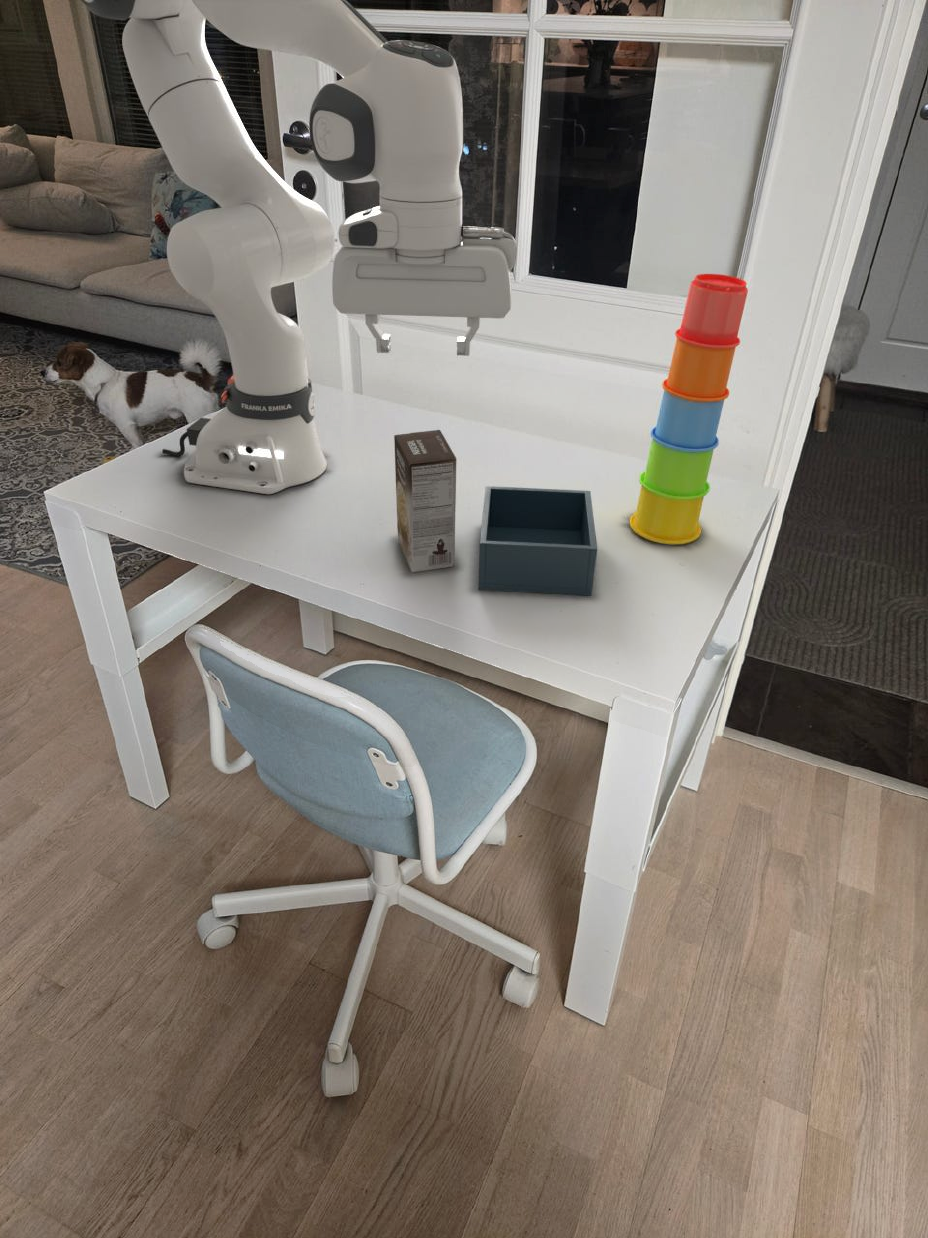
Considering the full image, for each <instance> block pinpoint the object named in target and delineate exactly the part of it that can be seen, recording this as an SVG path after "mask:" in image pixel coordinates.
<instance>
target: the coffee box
mask: <svg viewBox="0 0 928 1238" xmlns="http://www.w3.org/2000/svg"><path fill="white" fill-rule="evenodd" d="M393 437H394V438H393V439H394V440H393V441H394V468H395V471H394V472H395V496H396V497H395V498H396V525H397V527H396V528H397V541H398V543H399V544H400V548H401V550H402V553H403V555H404V559H405V560H406V562H407V566H408V567H409V568H408V569H409V570H410V572H411V573H418V572H424V571H432V570H438V569H444V568H451V567H452V568H453V567H455V554H456V553H455V551H456V550H455V549H456V547H455V546H456V507H457V505H456V504H457V502H456V501H457V499H456V498H457V457H456V455H455V453H454V452H453V450H452V449H451V448H452V447H450V444H449V443H448V441H447V440H446V438H445V436H444V434H443V433H442V431H441V429H435V430H426V431H417V432H410V433H401V434H394V435H393Z"/></svg>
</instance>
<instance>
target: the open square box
mask: <svg viewBox="0 0 928 1238" xmlns="http://www.w3.org/2000/svg"><path fill="white" fill-rule="evenodd" d="M482 506H483V509H482V515H481V516H482V517H481V527H480V536H479V537H480V539H479V552H478V553H479V556H478V581H477V582H478V585H477V587H478V588H477V589H478V590H479V591H497V592H499V591H500V592H518V593H536V594H555V595H556V594H557V595H575V596H578V595H579V596H592V593H593V586H594V579H595V578H594V577H595V570H596V562H597V556H598V541H597V536H596V535H597V534H596V526H595V518H594V510H593V502H592V494H591V490H580V489H579V490H577V489H557V488H535V487H516V486H515V487H513V486H512V487H511V486H492V485H490V486H489V485H486V486H485V487H484V499H483V505H482Z"/></svg>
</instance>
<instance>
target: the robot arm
mask: <svg viewBox="0 0 928 1238" xmlns="http://www.w3.org/2000/svg"><path fill="white" fill-rule="evenodd" d="M80 1H81V3H82V4H83V5H84V6H85V7H86V9H88V10H89V12H91V13H92V14H93V15H96V16H98V17H100V18H105V19H108V20H114V21H127V20H128V19H129V20H128V21H127V23H126V24H125V26H124V29H123V31H122V39H121V42H122V43H121V45H122V50H123V54H124V57H125V61H126V65H127V68H128V70H129V74H130V77H131V79H132V82H133V85H134V88H135V91H136V93H137V96H138V98H139V100H140V103H141V105H142V108H143V110H144V112H145V114H146V116H147V117H148V121H149V123H150V125H151V127H152V129H153V130H154V133H155V135H156V137H157V139H158V141H159V143H160V145H161V147H162V150H163V151H164V153H165V156H166V158H167V159H168V162H169V164H170V166H171V169H172V170H173V172H174V174H175V175H176V177H178V179H179V180H180V181H181V182H182V183H183V184H185V185H186V186H188V188H191V189H193V190H195V191H197V192H200V193H202V194H204V195H206V196H207V197H209V198H210V199H211V200H213V201H214V202H215V203H216V204H218V206H219V207H216V208H211V209H205V210H202V211H199V212H197V213H195V214H193V215H190V216H189V217H186V218H184V219H182V220H180V221H179V222H176V223H175V224H174V225H173V226H172V227H171V228H170V231H169V234H168V236H167V241H166V257H167V262H168V266H169V269H170V272H171V274H172V275H173V277H174V278H175V281H176V282H177V283H178V285H179V286H180V287H181V288H182V289H183V290H184V291H185V292H186V293H188V294H189V295H190V296H192V297H193V298H195V299H196V300H198V301H200V302H201V303H203V304H204V305H205V306H206V307H207V308H208V309H209V310H210V311H211V313H212V314H213V316H214V317H215V318H216V320H217V321H218V323H219V325H220V327H221V330H222V331H223V334H224V336H225V340H226V344H227V348H228V354H229V359H230V363H231V369H232V376H231V377H230V378H229V379H228V380H227V385H226V386H225V387H224V388H223V393H222V394H221V395H220V397H221V403H222V404H225V405H226V406H225V407H224V408H223V409H222V410H220V411H219V412H218V413H217V414H216V415H214V416H213V417H212V418H206V417H200V418H199V419H198V420H196V421H195V422H193V423H192V424H191V425H190V426H188V427H187V428H186V431H185V432H184V433H183V434H181V436H180V438H179V451H173V450H169V449H166V448H162V450H161V452H162V454H165V455H168V456H171V457H177V458H178V457H181V456H183V455H184V454H185V452H186V448H185V440H186V439H187V440H188V444H189V446H195V452H193V454H191V456H190V457H188V459H187V461H186V463H185V464H184V468H183V477H184V479H185V482H187V483H188V484H189V483H190V484H194V485H195V484H196V485H202V486H210V487H217V488H222V489H229V490H234V491H235V490H236V491H242V492H243V491H244V492H250V493H256V494H257V493H258V494H263V495H264V494H265V495H272V494H276V493H278V492H281V491H283V490H284V489H287V488H291V487H294V486H299V485H302V484H306V483H308V482H311V481H313V480H315V479H317V478H318V477H320V476H321V475H322V474H323V473H324V472H325V471H326V470H327V468H328V467H327V466H328V463H327V460H326V457H325V455H324V453H323V450H322V447H321V444H320V440H319V437H318V432H317V428H316V423H315V419H314V418H315V412H316V407H315V397H314V396H315V395H314V391H313V385H312V380H311V379H310V378H309V373H308V362H307V353H306V352H307V351H306V342H305V335H304V332H303V330H302V328H301V327H300V326H299V325H298V324H297V322H295V321H294V320H293V319H291V318H290V317H288V316H286V315H284V314H282V313H279V312H278V311H277V309H276V307H275V305H274V302H273V299H272V288H275V287H280V286H283V285H287V284H290V283H295V282H298V281H302V280H304V279H307V278H309V277H310V276H312V275H314V274H316V273H317V272H319V271H320V270H322V269H324V268H326V267H327V265H329V263H330V262H331V260H332V257H333V256H334V252H335V251H334V250H335V234H334V233H335V231H334V229H333V225H332V223H331V220H330V218H329V217H328V215H327V213H326V212H325V210H324V209H323V208H322V207H321V206H320V205H319V204H318V203H317V202H315V201H313V200H311V199H309V198H308V197H305V196H304V195H302V194H300V193H299V192H297V190H295V189H294V188H292V187H291V186H290V185H289V184H288V183H287V182H285V180H284V179H283V178H282V177H281V176H279V174H278V173H277V172H276V171H275V170H274V169H273V168H272V167H271V166H270V165H269V163H268V162H267V160H265V158H264V157H263V156H262V154H261V153H260V152H259V150H258V149H257V148H256V146H255V144H254V143H253V141H252V139H251V137H250V136H249V133H248V131H247V130H246V128H245V126H244V124H243V122H242V120H241V118H240V116H239V114H238V112H237V109H236V107H235V106H234V103H233V101H232V99H231V97H230V95H229V92H228V91H227V88H226V85H225V84H224V82H223V79H222V78H221V76H220V73H219V71H218V70H217V68H216V66H215V64H214V62H213V59H212V57H211V56H210V52H209V50H208V48H207V44H206V38H205V28H206V27H205V26H206V25H207V26H208V27H210V28H211V29H216V30H218V31H219V32H221V33H222V34H223V35H225V36H226V37H227V38H228V39H230V40H231V41H233V42H234V43H237V44H239V45H241V46H243V47H244V46H245V47H249V48H253V49H258V50H265V51H272V52H278V53H285V54H291V55H296V56H299V57H304V58H307V59H309V60H310V59H311V60H314V61H317V62H319V63H321V64H324V65H325V66H327V67H329V68H331V69H332V70H333V71H335V72H336V73H337V74H339V76H341V79H339V80H336V81H334V82H331V83H326V84H324V85H323V86H322V87H321V88H320V90H319V91H318V92H317V93H316V95H315V97H314V99H313V101H312V104H311V108H310V112H309V119H308V120H309V123H308V128H309V129H308V130H309V139H310V145H311V147H312V151H313V154H314V157H315V158H316V161H317V162H318V164H319V165H320V167H321V168H322V169H323V170H324V172H325V173H326V174H327V175H328V176H329V177H331V178H332V179H333V180H335V181H337V182H343V183H344V182H345V183H349V184H362V183H369V182H370V183H371V182H377V183H378V185H379V193H378V197H379V205H378V206H375V207H372V208H368V209H366V210H363V211H359V212H355V213H354V214H352V215H350V216H348V217H346V218H345V219H344V220H343V221H342V222H341V224H340V225H339V227H338V233H337V234H338V241H339V243H340V245H341V247H340V249H339V250H338V251H337V253H336V254H335V257H334V260H333V266H332V277H331V278H332V284H331V288H332V303H333V306H334V307H335V309H336V310H337V311H338V312H339V313H340V314H344V315H364V317H365V318H364V319H365V324H366V327H367V328H368V330H369V332H370V333H371V335H372V336H373V338H374V339H375V341H376V342H375V343H376V353H377V354H390V353H391V351H392V343H391V340H392V339H391V336H392V335H391V334H388V333H384V332H383V330H382V328H381V326H380V325H379V321H380V319H381V316H406V317H407V316H408V317H437V318H439V317H441V318H442V317H443V318H466V325H467V327H468V330H467V332H466V334H465V335H464V336H457V340H456V356H457V357H458V356H459V357H460V356H461V357H469V356H470V354H471V342H472V340H473V339H474V337H475V335H476V334H477V332H478V330H479V329H480V324H481V319H504V318H505V317H507V315H508V314H509V313H510V312H511V311H512V281H511V271H512V270H513V269H514V267H515V265H516V262H517V250H518V246H517V242H516V239H515V238H514V236H513V235H512V234H511V233H510V232H507V231H504V228H503V227H498V226H492V227H481V226H471V225H470V226H469V225H465V226H464V225H463V188H462V184H461V179H460V161H461V158H462V154H463V150H464V148H463V147H464V113H463V112H464V109H463V95H462V85H461V77H460V73H459V68H458V66H457V63H456V59H455V58H454V57H453V56H452V55H451V54H450V53H449V52H448V51H447V50H445V49H444V48H443V47H440V46H437V45H434V44H431V43H427V42H419V41H415V40H408V39H407V40H406V39H405V40H404V39H402V40H401V39H397V40H390V41H388V40H387V38H385V36H383V34H381V32H380V31H379V30H377V29H376V27H374V26H373V25H372V24H371V23H370V22H369V21H368V20H367V19H366V18H365V17H364V16H363V15H362V14H361V13H360V12H359V11H358V10H357V9H356V8H355V7H354V6H353V5H352V4H351V3H350V2H348V1H347V0H80Z"/></svg>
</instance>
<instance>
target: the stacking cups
mask: <svg viewBox="0 0 928 1238" xmlns="http://www.w3.org/2000/svg"><path fill="white" fill-rule="evenodd" d="M748 293H749V289H748V287H747V281H746V280H744V279H742V278H739V277H736V276H732V275H726V274H721V273H698V274H696V275H695V276H694V280H692V281H691V282H690V284H689V289H688V294H687V298H686V302H685V307H684V310H683V316H682V319H681V324H680V327H679V328H678V329H676V330H675V332H674V335H675V338H676V339H675V343H674V349H673V353H672V358H671V363H670V367H669V371H668V376H667V378H666V379H664V380H663V381H662V384H661V387H662V389H663V394H662V399H661V403H660V407H659V413H658V417H657V421H656V426H654V427H653V428H652V429H651V431H650V437H651V443H650V444H651V445H650V450H649V452H648V458H647V463H646V468H645V471H643V472H641V474H640V475H639V478H638V481H639V483H640V491H639V495H638V501H637V505H636V506H637V507H636V512H634V513H633V514H632V515H631V516H630V518H629V526H630V528H631V530H632V531H633V532H634V533H635V534H637V535H638V536H640V537H642V538H644V539H645V540H648V541H650V542H654V543H659V544H663V545H674V546H675V545H684V544H689V543H692V542H694V541H696V540H697V539H698V538H699V537H700V535H701V532H702V527H701V525H700V523H699V519H700V515H701V510H702V507H703V501H704V497H705V496H707V495H708V494H709V493H710V489H711V486H710V483H709V482H708V476H709V471H710V469H711V468H710V467H711V464H712V458H713V454H714V451H715V449H716V448H718V447H719V445H720V441H719V438H718V436H717V434H718V429H719V424H720V421H721V416H722V412H723V408H724V403H725V400H726V399H728V397H729V395H730V389H729V388H728V382H729V377H730V373H731V369H732V365H733V360H734V357H735V351H736V348H737V347H738V346H739V345H740V344H741V339H740V337H738V335H739V331H740V327H741V322H742V319H743V314H744V310H745V305H746V301H747V296H748Z"/></svg>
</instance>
